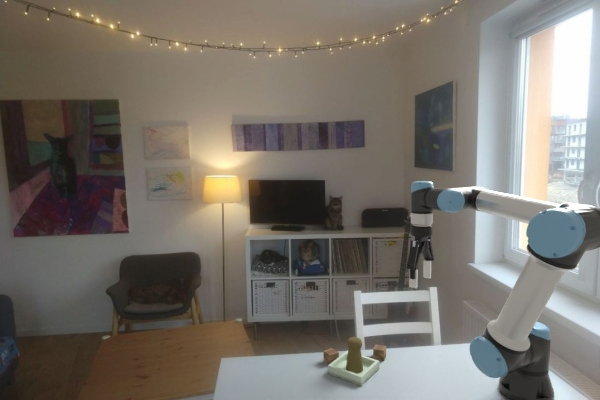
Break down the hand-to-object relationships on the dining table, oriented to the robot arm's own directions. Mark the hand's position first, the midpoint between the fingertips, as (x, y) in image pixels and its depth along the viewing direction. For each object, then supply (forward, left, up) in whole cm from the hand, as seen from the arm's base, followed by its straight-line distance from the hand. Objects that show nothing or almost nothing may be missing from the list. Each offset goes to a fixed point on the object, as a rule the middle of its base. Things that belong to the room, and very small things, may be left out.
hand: (420, 282), depth 146 cm
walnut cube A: (+12, +8, -29) cm, 32 cm away
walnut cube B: (+25, +21, -29) cm, 44 cm away
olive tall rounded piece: (+15, +22, -28) cm, 38 cm away
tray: (+15, +22, -29) cm, 39 cm away
